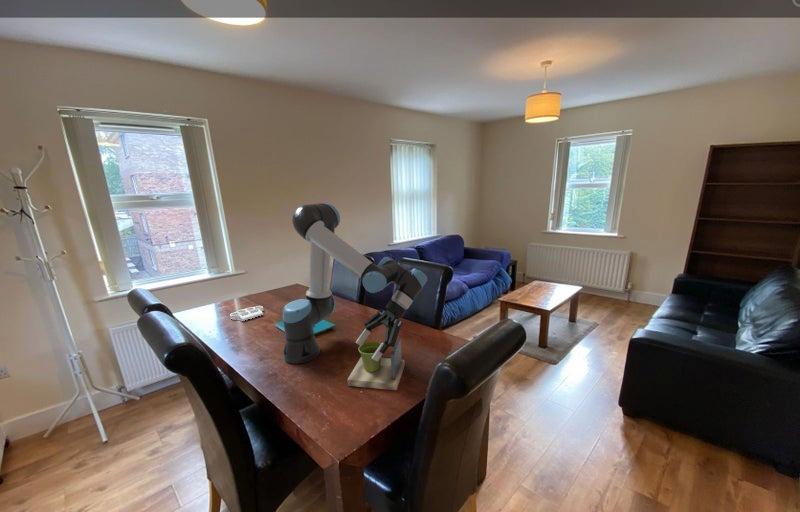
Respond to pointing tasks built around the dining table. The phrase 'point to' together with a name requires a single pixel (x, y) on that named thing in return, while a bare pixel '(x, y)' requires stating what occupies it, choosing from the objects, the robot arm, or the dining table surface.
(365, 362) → the plant pot
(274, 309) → the dining table surface
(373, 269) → the robot arm
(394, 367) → the bookend
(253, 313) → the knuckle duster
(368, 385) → the shelf board
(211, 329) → the dining table surface
